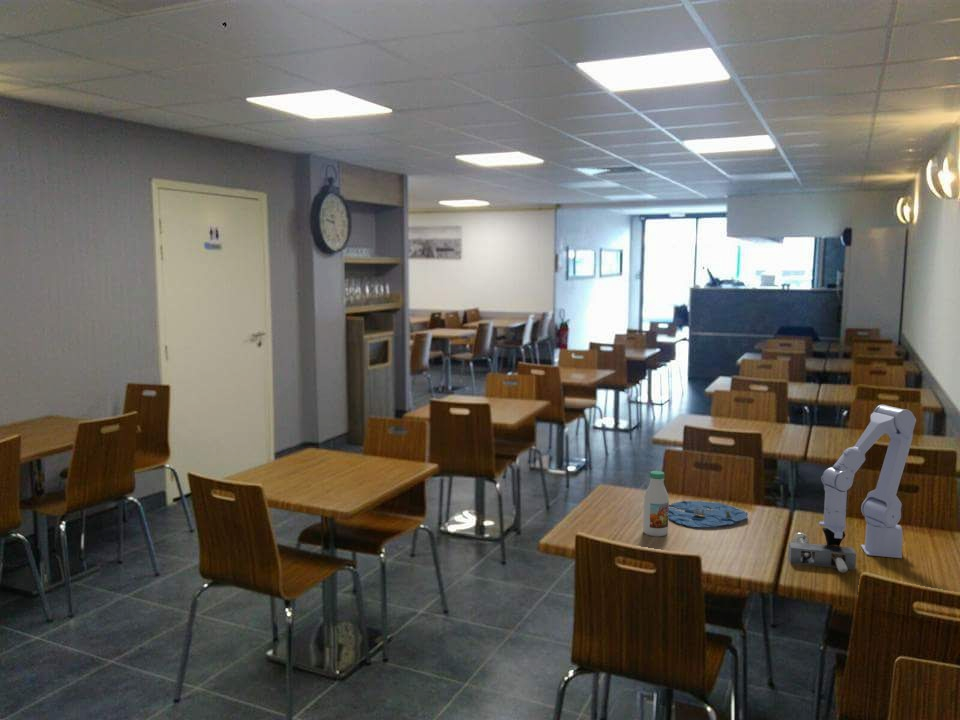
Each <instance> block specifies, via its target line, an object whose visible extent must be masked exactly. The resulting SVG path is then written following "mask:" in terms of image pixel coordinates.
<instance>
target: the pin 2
mask: <svg viewBox="0 0 960 720" xmlns="http://www.w3.org/2000/svg"><path fill="white" fill-rule="evenodd" d="M830 546H838V545H836V544H831V545H830ZM831 559H833V560H834V562H835V564H836V566H837V568H836V569H837V571H838V572H840V573H841V574H844V573H847V572H848V570H849V569H848V568H847V566H846V564H845V562H844V560H843V558H842V555H841V554H832V557H831Z"/></svg>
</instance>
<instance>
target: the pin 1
mask: <svg viewBox="0 0 960 720" xmlns="http://www.w3.org/2000/svg"><path fill="white" fill-rule="evenodd" d="M809 541H810V540H809V538H808V535H807V534H805V533H804V532H796V533H795V534H794V535H793V536H792V542H797V543H808V544H810V542H809ZM801 556H802V557H803V558H805V559H810V558H811V556H812V552H809V551H801Z"/></svg>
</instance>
